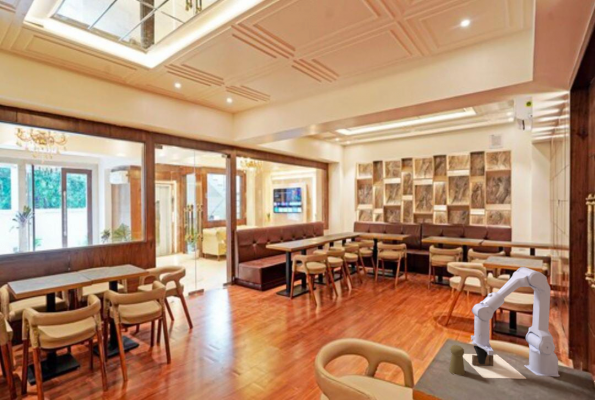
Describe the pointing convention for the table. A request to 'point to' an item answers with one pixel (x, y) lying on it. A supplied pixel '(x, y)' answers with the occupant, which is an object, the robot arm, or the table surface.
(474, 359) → the fence gate
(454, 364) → the cork
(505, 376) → the card
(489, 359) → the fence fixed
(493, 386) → the table surface
